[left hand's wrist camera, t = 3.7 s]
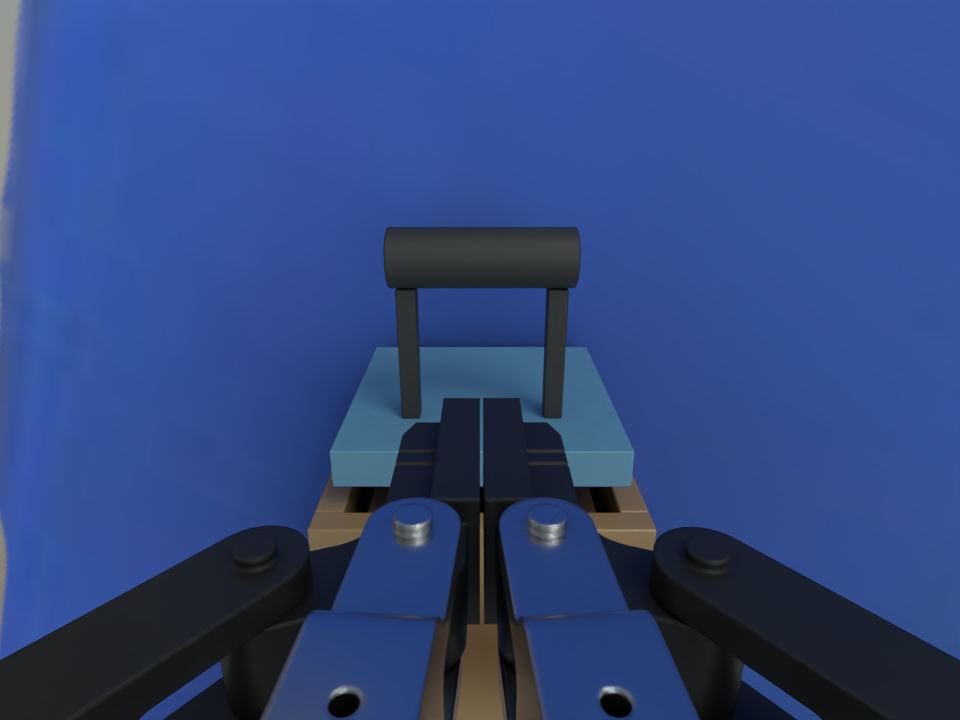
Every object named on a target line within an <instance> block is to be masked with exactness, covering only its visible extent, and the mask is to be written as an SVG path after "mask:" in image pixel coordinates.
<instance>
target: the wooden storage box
mask: <svg viewBox="0 0 960 720" xmlns="http://www.w3.org/2000/svg"><path fill="white" fill-rule="evenodd" d="M374 488H375V487H334V486H333V483H332V473H331V475H330V477H329V479H328V482H327V484H326V486H325V489H324V491H323V494H322V496H321V498H320V501H319V503H318V506H317V508H316V510H315V514H314V516H313V518H312V521H311V523H310V525H309V528H308V530H307V532H308V540H309V548H310V551H313V550H318V549H323V548H327V547H332V546H336V545H340V544H344V543H347V542H350V541H352V540H355V539H357V538H359V537H361V534H362V532H363V529H364V527H365V524H366V522H367V520H368V518H369V517H370V516H371V514H372V513H368V509H369V506H370V502H371V499H372V495H373V492H374ZM589 490H590V493H591V497H592V500H593V503H594V507H595V510H596V513H588V514H589V516H590V517H591V518H592V520H593V522H594V524H595V527H596V529H597V532H598V533H599V534H601V535H602V536H604V537H606V538H608V539H610V540H613V541H615V542H618V543H621V544H625V545H629V546H634V547H638V548H643V549H647V550H652V551H653V547H654V544H655V540H656V532H657V530H656V528H655V525H654V523H653V521H652V518H651V516H650V514H649V512H648V509H647V507H646V505H645V502H644V500H643V498H642V495H641V493H640V491H639V488H638V486H637V484H636V481H635V479H634V477H633V474H632V482H631V486H630V487H589ZM497 655H498V636H497V624H484V549H483V513H480V624H467V642H466V648H465V650H464V653H463V671H462V679H461V687H460V695H459V703H458V711H457V720H503V711H502V703H501V695H500V687H499V679H498V671H497Z"/></svg>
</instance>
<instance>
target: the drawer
mask: <svg viewBox="0 0 960 720" xmlns="http://www.w3.org/2000/svg"><path fill="white" fill-rule="evenodd" d="M580 253H581V252H580V236H579V232H578V229H577V228H576V227H388V228H387V229H386V232H385V237H384V271H385V278H386V283H387V285H388V287H389V288H396V291H395V295H396V315H397V335H398V347H377V348H376V350H375V352H374V354H373V356H372V359H371V361H370V363H369V365H368V368H367V370H366V372H365V374H364V376H363V379H362V381H361V383H360V385H359V388H358V390H357V392H356V394H355V396H354V399H353V401H352V403H351V405H350V408H349V410H348V412H347V414H346V416H345V419H344V421H343V423H342V425H341V428H340V430H339V432H338V434H337V436H336V439H335V441H334V443H333V445H332V448H331V450H330V452H329V453H330V463H331V473H332V483H333V486H334V487H375V488H374V492H373V495H372V499H371V502H370V506H369V509H368V513H373V512H374V511H376V510H377V509H378V508H380V507H382V506H383V505H385V504H386V500H387V496H388V492H389V488H390V484H391V480H392V476H393V472H394V467H395V466H396V459H397V455H398V453H399V447H400V443H401V439H402V435H403V434H404V433H405V432H406V431H407V430H408V429H410V428H411V427H412V426H413V425H414V424H415V423H416V422H440V420H441V413H442V405H443V398H480V513H483V398H520V403H521V410H522V417H523V422H547V423H548V424H549V425H551V426H552V427H553V428H554V429H555V430H556V431H557V432H558V433H559V434H560V435H561V437H562V441H563V445H564V449H565V453H566V457H567V461H568V465H569V469H570V473H571V477H572V480H573V484H574V488H575V492H576V496H577V500H578V504H579V507H580V508H582V509H583V510H584V511H586V512H587V513H596V510H595V507H594V503H593V500H592V497H591V493H590V490H589V487H630V486H631V482H632V472H633V462H634V453H635V452H634V450H633V448H632V446H631V443H630V441H629V439H628V437H627V435H626V432H625V430H624V428H623V426H622V424H621V422H620V419H619V417H618V415H617V413H616V411H615V409H614V406H613V404H612V402H611V400H610V398H609V396H608V393H607V391H606V389H605V387H604V385H603V383H602V380H601V378H600V376H599V374H598V372H597V369H596V367H595V365H594V363H593V361H592V359H591V356H590V354H589V352H588V350H587V348H586V347H566V331H567V312H568V293H569V291H568V289H567V288H575V287H576V285H577V283H578V279H579V272H580ZM417 288H547V291H546V316H545V341H544V347H419V321H418V295H417Z"/></svg>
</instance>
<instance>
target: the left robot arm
mask: <svg viewBox="0 0 960 720" xmlns="http://www.w3.org/2000/svg"><path fill="white" fill-rule="evenodd" d="M483 549H484V624H497V636H498V655H497V671H498V679H499V687H500V695H501V703H502V711H503V720H797V719H795V718H794V717H792V716H791V715H790V714H788V713H787V712H785V711H784V710H783V709H781V708H780V707H778V706H777V705H776V704H774V703H773V702H771V701H770V700H769V699H767V698H766V697H764V696H763V695H762V694H760V693H759V692H758V691H756V690H755V689H753V688H752V687H751V686H749V685H748V684H746V683H745V682H744V681H742V680H741V677H742V672H743V667H744V664H745V665H747V666H748V667H750V668H751V669H753V670H754V671H756V672H757V673H758V674H760V675H761V676H763V677H764V678H766V679H767V680H769V681H770V682H771V683H773V684H774V685H776V686H777V687H779V688H780V689H781V690H783V691H784V692H786V693H787V694H789V695H790V696H792V697H793V698H794V699H796V700H797V701H799V702H800V703H802V704H803V705H805V706H806V707H807V708H809V709H810V710H812V711H813V712H814V713H816V714H817V715H818V716H819V717H820V718H821V719H822V720H960V660H958V659H956V658H955V657H953V656H951V655H949V654H947V653H945V652H944V651H942V650H940V649H938V648H936V647H934V646H932V645H931V644H929V643H927V642H925V641H923V640H921V639H920V638H918V637H916V636H914V635H912V634H910V633H908V632H907V631H905V630H903V629H901V628H899V627H897V626H896V625H894V624H892V623H890V622H888V621H886V620H884V619H883V618H881V617H879V616H877V615H875V614H873V613H872V612H870V611H868V610H866V609H864V608H862V607H860V606H859V605H857V604H855V603H853V602H851V601H849V600H848V599H846V598H844V597H842V596H840V595H838V594H836V593H835V592H833V591H831V590H829V589H827V588H825V587H824V586H822V585H820V584H818V583H816V582H814V581H812V580H811V579H809V578H807V577H805V576H803V575H801V574H800V573H798V572H796V571H794V570H792V569H790V568H789V567H787V566H785V565H783V564H781V563H779V562H777V561H776V560H774V559H772V558H770V557H768V556H766V555H765V554H763V553H761V552H759V551H757V550H755V549H753V548H752V547H750V546H748V545H746V544H744V543H742V542H741V541H739V540H737V539H735V538H733V537H731V536H729V535H727V534H724V533H721V532H718V531H715V530H711V529H706V528H700V527H682V528H676V529H672V530H669V531H667V532H665V533H663V534H662V535H661V536H659V537H658V539H657V540H656V541H655V544H654V547H653V551H652V550H647V549H643V548H638V547H634V546H629V545H625V544H621V543H618V542H615V541H613V540H610V539H608V538H606V537H604V536H602V535H601V534H599V533H598V532H597V529H596V527H595V524H594V522H593V520H592V518H591V517H590V516H589V514H588V513H587V512H586V511H584V510H583V509H582V508H580V507H579V504H578V500H577V496H576V492H575V488H574V484H573V480H572V477H571V473H570V469H569V465H568V461H567V457H566V453H565V449H564V445H563V441H562V437H561V435H560V434H559V433H558V432H557V431H556V430H555V429H554V428H553V427H552V426H551V425H549V424H548V423H547V422H523V417H522V410H521V403H520V398H483ZM467 624H480V398H443V405H442V413H441V420H440V422H416V423H415V424H414V425H413V426H412V427H411V428H410V429H408V430H407V431H406V432H405V433H404V434H403V435H402V439H401V443H400V447H399V453H398V455H397V459H396V466H395V467H394V472H393V476H392V480H391V484H390V488H389V492H388V496H387V500H386V504H385V505H383V506H382V507H380V508H378V509H377V510H376V511H374V512H373V513H372V514H371V516H370V517H369V518H368V520H367V522H366V524H365V527H364V529H363V532H362V534H361V537H359V538H357V539H355V540H352V541H350V542H347V543H344V544H340V545H336V546H332V547H327V548H323V549H318V550H313V551H309V544H308V542H307V540H306V538H305V537H304V536H303V535H302V534H301V533H299V532H298V531H296V530H294V529H291V528H288V527H282V526H260V527H255V528H250V529H247V530H243V531H240V532H238V533H235V534H233V535H231V536H229V537H227V538H225V539H223V540H221V541H219V542H218V543H216V544H214V545H212V546H210V547H208V548H207V549H205V550H203V551H201V552H199V553H197V554H196V555H194V556H192V557H190V558H188V559H186V560H184V561H183V562H181V563H179V564H177V565H175V566H173V567H172V568H170V569H168V570H166V571H164V572H162V573H160V574H159V575H157V576H155V577H153V578H151V579H149V580H148V581H146V582H144V583H142V584H140V585H138V586H136V587H135V588H133V589H131V590H129V591H127V592H125V593H124V594H122V595H120V596H118V597H116V598H114V599H112V600H111V601H109V602H107V603H105V604H103V605H101V606H100V607H98V608H96V609H94V610H92V611H90V612H88V613H87V614H85V615H83V616H81V617H79V618H77V619H76V620H74V621H72V622H70V623H68V624H66V625H64V626H63V627H61V628H59V629H57V630H55V631H53V632H52V633H50V634H48V635H46V636H44V637H42V638H41V639H39V640H37V641H35V642H33V643H31V644H29V645H28V646H26V647H24V648H22V649H20V650H18V651H17V652H15V653H13V654H11V655H9V656H7V657H5V658H4V659H2V660H0V720H139V719H140V718H141V717H142V716H143V715H144V714H145V713H146V712H147V711H149V710H150V709H151V708H153V707H154V706H156V705H157V704H158V703H160V702H161V701H163V700H164V699H166V698H167V697H168V696H170V695H171V694H173V693H174V692H176V691H177V690H179V689H180V688H181V687H183V686H184V685H186V684H187V683H189V682H190V681H192V680H193V679H194V678H196V677H197V676H199V675H200V674H202V673H203V672H204V671H206V670H207V669H209V668H210V667H212V666H213V665H215V664H216V663H217V662H219V661H220V663H221V668H222V673H223V677H222V678H221V679H219V680H218V681H216V682H215V683H214V684H212V685H211V686H209V687H208V688H207V689H205V690H204V691H202V692H201V693H200V694H198V695H197V696H196V697H194V698H193V699H191V700H190V701H189V702H187V703H186V704H184V705H183V706H182V707H180V708H179V709H177V710H176V711H175V712H173V713H172V714H170V715H169V716H168V717H166V718H165V719H163V720H457V711H458V703H459V695H460V687H461V679H462V671H463V653H464V650H465V648H466V642H467Z"/></svg>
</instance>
